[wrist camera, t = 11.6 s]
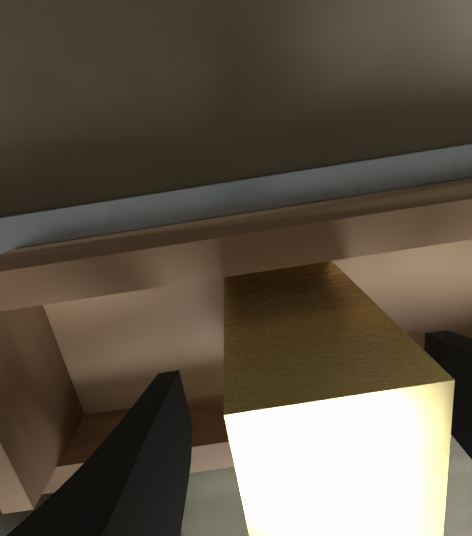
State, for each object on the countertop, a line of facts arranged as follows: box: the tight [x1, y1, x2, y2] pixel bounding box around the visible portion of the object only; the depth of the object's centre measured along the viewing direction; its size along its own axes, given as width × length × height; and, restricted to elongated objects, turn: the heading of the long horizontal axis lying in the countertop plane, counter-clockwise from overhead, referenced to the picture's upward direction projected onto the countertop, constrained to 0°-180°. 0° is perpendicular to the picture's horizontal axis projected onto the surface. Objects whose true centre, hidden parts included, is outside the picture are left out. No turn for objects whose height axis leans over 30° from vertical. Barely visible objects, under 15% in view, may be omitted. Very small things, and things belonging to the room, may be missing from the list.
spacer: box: [224, 261, 455, 536], centre depth 10 cm, size 4×4×7 cm
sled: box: [0, 178, 472, 514], centre depth 11 cm, size 9×20×5 cm, turn 98°
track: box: [0, 143, 472, 254], centre depth 13 cm, size 11×29×3 cm, turn 98°
